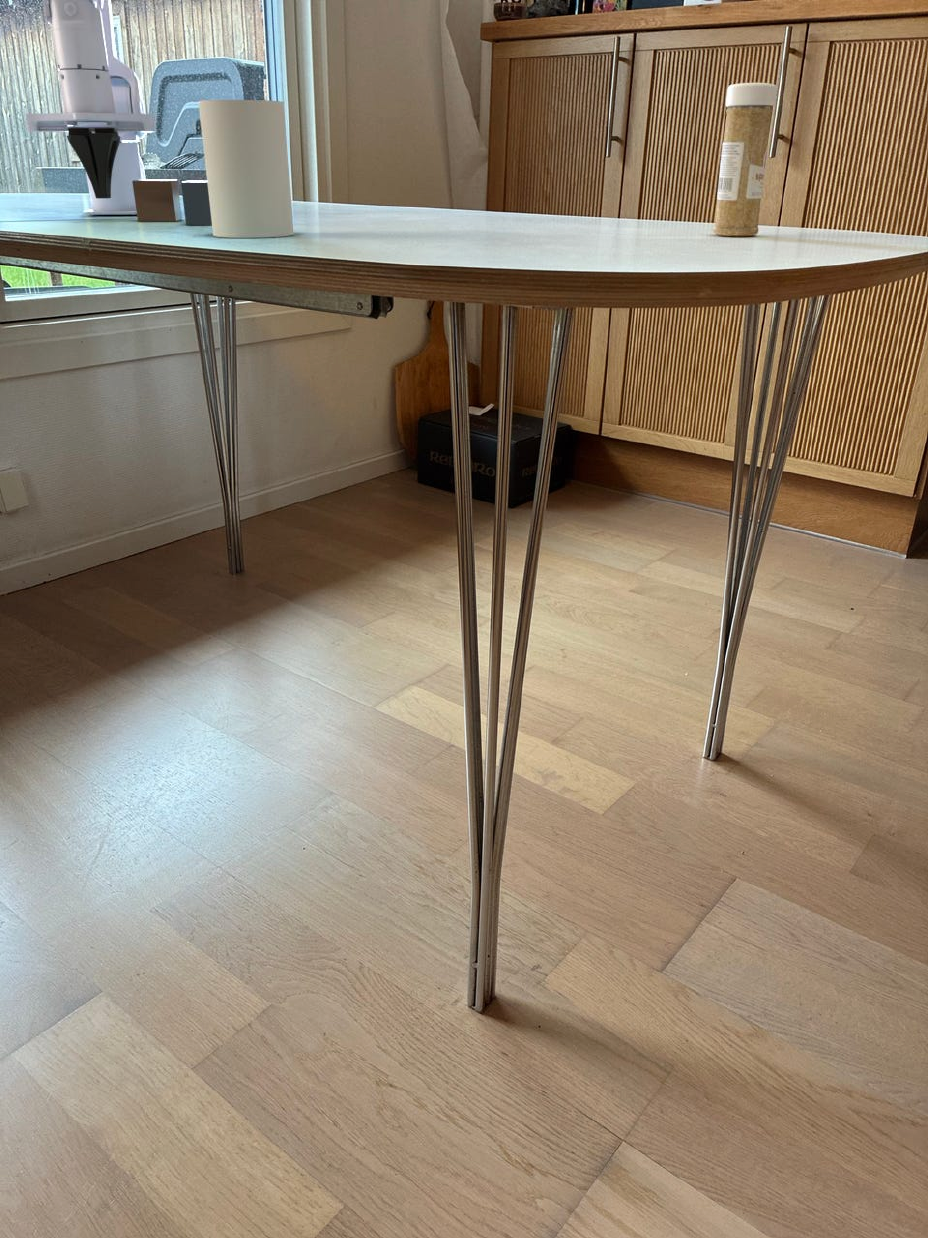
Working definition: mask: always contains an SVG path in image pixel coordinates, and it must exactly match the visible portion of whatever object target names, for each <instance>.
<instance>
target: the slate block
mask: <svg viewBox="0 0 928 1238" xmlns="http://www.w3.org/2000/svg"><path fill="white" fill-rule="evenodd" d="M180 187H181V195H182V204H183V211H184V213H183V214H184V220H185V226H212V220H211V210H210V201H209V192H208V183H207V180H185V181H181V182H180Z"/></svg>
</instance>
